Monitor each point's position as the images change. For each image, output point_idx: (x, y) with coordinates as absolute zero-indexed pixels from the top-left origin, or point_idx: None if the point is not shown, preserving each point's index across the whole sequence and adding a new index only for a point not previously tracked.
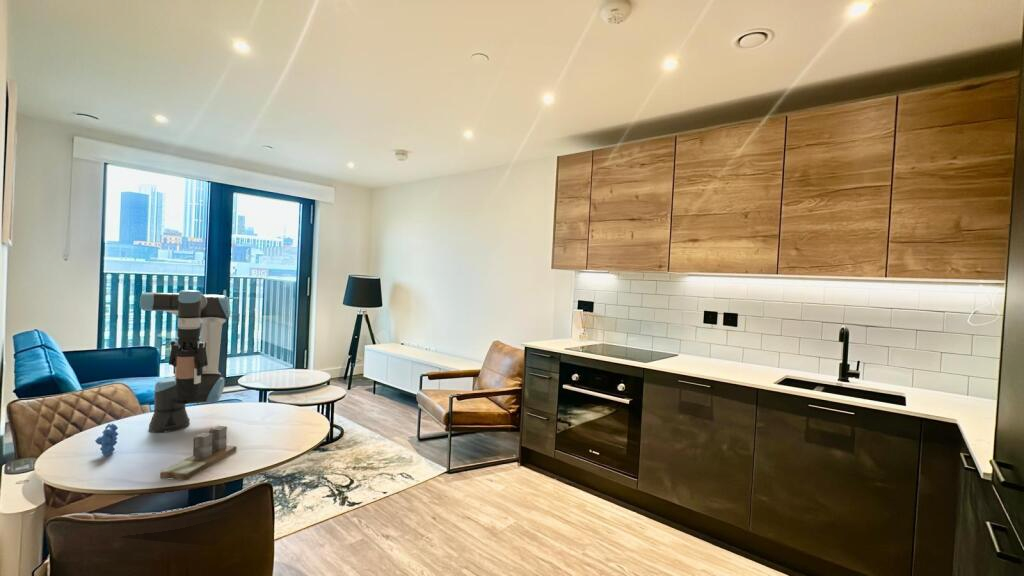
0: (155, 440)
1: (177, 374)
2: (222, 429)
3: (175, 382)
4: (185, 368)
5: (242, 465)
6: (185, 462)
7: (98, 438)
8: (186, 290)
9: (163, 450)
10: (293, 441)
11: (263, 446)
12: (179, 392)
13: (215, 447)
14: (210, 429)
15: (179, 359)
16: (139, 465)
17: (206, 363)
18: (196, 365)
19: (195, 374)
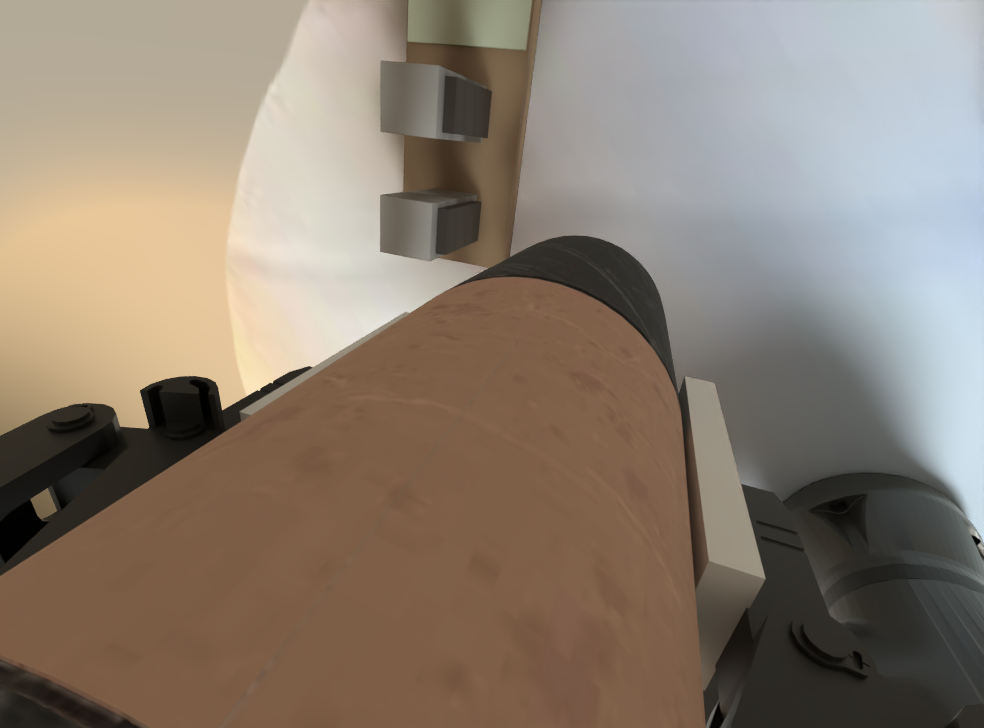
0: (848, 376)
1: (599, 333)
2: (382, 216)
3: (700, 381)
4: (358, 351)
5: (308, 100)
6: (496, 27)
7: None
8: None
9: (733, 247)
10: (282, 338)
11: (346, 293)
12: (589, 249)
13: (444, 192)
14: (433, 203)
15: (363, 592)
16: (758, 38)
17: (56, 513)
18: (181, 454)
19: (330, 363)
